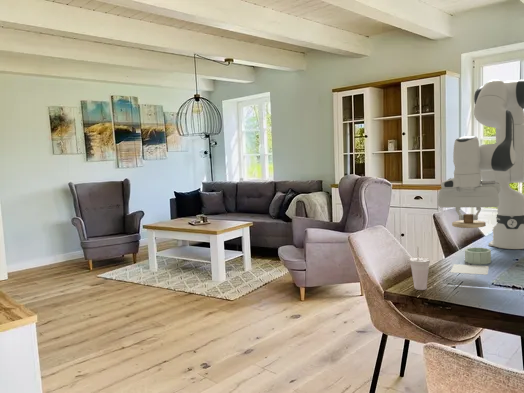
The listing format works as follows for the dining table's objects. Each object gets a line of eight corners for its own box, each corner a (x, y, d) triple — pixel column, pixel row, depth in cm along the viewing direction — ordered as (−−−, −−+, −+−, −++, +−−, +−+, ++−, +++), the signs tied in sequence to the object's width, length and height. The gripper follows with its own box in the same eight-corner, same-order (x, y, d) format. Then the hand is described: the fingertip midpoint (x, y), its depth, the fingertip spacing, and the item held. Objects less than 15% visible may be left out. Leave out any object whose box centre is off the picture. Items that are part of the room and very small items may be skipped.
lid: (453, 222, 169) (453, 212, 169) (486, 223, 164) (485, 212, 164) (450, 227, 160) (450, 216, 159) (485, 228, 154) (484, 216, 154)
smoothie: (406, 287, 148) (404, 246, 147) (420, 284, 151) (418, 243, 150) (421, 292, 142) (419, 249, 141) (435, 288, 145) (433, 246, 144)
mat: (453, 265, 171) (453, 264, 171) (488, 267, 165) (488, 266, 165) (450, 273, 161) (450, 272, 161) (487, 276, 155) (487, 274, 155)
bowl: (466, 259, 180) (465, 247, 179) (491, 260, 175) (491, 248, 175) (464, 264, 172) (463, 252, 171) (490, 266, 167) (490, 253, 167)
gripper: (500, 179, 158) (501, 218, 159) (438, 181, 168) (440, 218, 169) (500, 181, 153) (500, 221, 154) (436, 183, 162) (437, 220, 164)
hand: (468, 219), depth 162 cm, fingers closed on lid, 3 cm apart
